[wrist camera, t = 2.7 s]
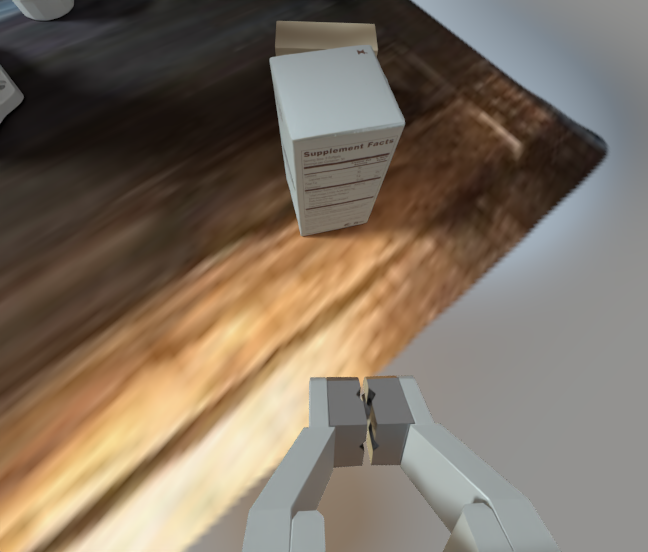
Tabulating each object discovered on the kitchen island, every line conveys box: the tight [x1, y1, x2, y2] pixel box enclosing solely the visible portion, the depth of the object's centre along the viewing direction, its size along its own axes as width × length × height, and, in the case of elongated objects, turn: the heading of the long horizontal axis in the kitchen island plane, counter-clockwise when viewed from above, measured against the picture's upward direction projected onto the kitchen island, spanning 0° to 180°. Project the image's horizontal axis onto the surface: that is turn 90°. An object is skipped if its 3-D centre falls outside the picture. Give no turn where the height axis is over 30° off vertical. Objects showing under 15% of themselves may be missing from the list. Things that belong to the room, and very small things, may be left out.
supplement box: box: [270, 45, 405, 236], centre depth 23 cm, size 7×7×13 cm
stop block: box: [275, 21, 378, 57], centre depth 30 cm, size 4×10×7 cm, turn 91°
